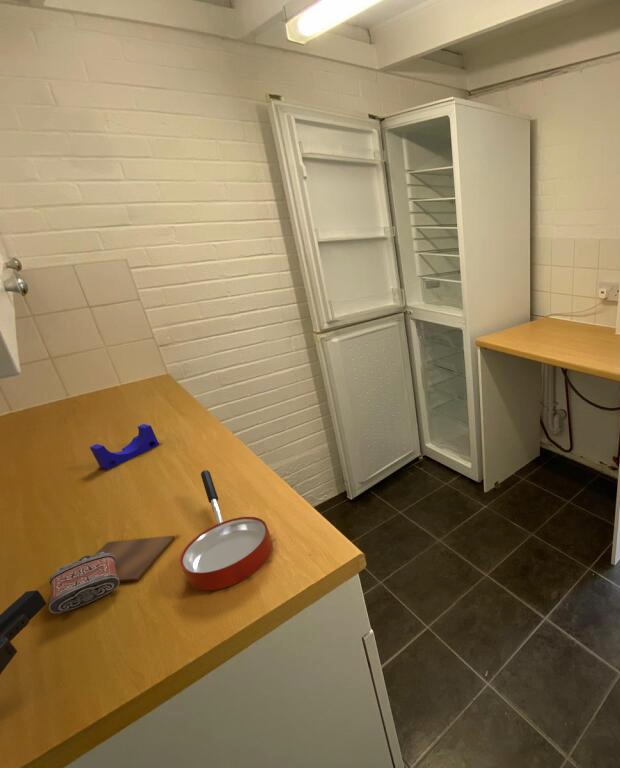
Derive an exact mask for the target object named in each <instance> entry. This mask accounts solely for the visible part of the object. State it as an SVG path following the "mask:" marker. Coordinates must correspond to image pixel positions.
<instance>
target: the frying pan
mask: <svg viewBox="0 0 620 768" xmlns="http://www.w3.org/2000/svg"><path fill="white" fill-rule="evenodd" d="M200 477H201V480H202V484H203V488H204V490H205V493H206V497H207V502H208V503H209V504H210V505H211V508H212V511H213V515H214V519H215V521H216V524H215V525H213V526H211V527H209V528H207V529H206V530H204V531H202V532H201V533H199V534H198V535H197V536H195V537H194V538H193V539H192V540H191V541H190V542H189V543H188V544H187V545H186V546H185V548H184V549H183V551H182V552H181V554H180V557H179V565H180V567H181V569H182V570H183V573H184V575H185V577H186V579H187V582H188V583H189V584H190V585H191V586H192V587H194V589H197V590H200V591H216V590H221V589H225V588H228V587H231V586H234V585H236V584H238V583H241V582H242V581H244V580H246V579H247V578H250V577H251V576H253V574H254V573H257V571H259V569H260V568H261V567H263V565H265V564H266V562H267V561H268V560H269V558H270V556H271V554H272V551H273V547H274V544H273V539H272V537H271V534H270V531H269V528H268V526H267V523H266V521H264V519H261V518H259V517H256V516H241V517H240V516H239V517H235V518H231V519H228V520H224V516H223V512H222V511H221V507H220V504H219V496H218V493H217V491H216V487H215V484H214V481H213V478H212V475H211V472H210V470H207V469H206V470H203V471H201V472H200Z"/></svg>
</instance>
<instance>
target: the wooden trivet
mask: <svg viewBox="0 0 620 768" xmlns="http://www.w3.org/2000/svg"><path fill="white" fill-rule="evenodd" d="M175 538H176V537H175V535H168V536H167V535H166V536H159V537H158V536H157V537H148V538H137V539H128V540H127V539H126V540H119V541H116V540H115V541H108V542H106V543H105V544H104V545H103V546H102V547H101V548H100V549H99V550H98V551H97V552H96V553H95V554H97V553H100V552H104V553H105V554H107V553H111V554H113V555H114V556H115V558H116V562H115V567H116V573H117V576H118V577H119V584H121V583H129V582H138V581H139V580H140V579H141V578H142V577H143V576H144V575H145V574H146V573H147V571H148V570H149V569H150V567H152V566H153V564H154V563H155V562H156V561H157V559H159V558H160V557H161V555H162V554H163V553H164V552H165V550H166V549H167V548H168V547H169V546H170V545H171V544H172V542H173V541H174V540H175Z"/></svg>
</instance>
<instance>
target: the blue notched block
mask: <svg viewBox="0 0 620 768" xmlns="http://www.w3.org/2000/svg"><path fill="white" fill-rule="evenodd" d="M137 430H138V435H136V436H134V437H133V438H132V440H131V441H130V442H129V443H128V444H127V445H126V446H124V447H123V448H121V451H116V452H115V451H114V452H111V451H109V450H108V449H107V448H106V447H105V445H102V444H98V443H96V444H93V445H90V446H89V449H90V451H91V453H92V455H93V456H94V458H95V461H96V462H97V464H98V466H99V468H101V469H104V470H107V471H108V470H110V469H112V468H115V467H116V466H118V465H120V464H122V463H125V462H126V461H128V460H131V459H133V458H135V457H138V456H139V455H141V454H143V453H145V452H147V451H149V450H151V449H154V448H155V447H158V446H160V442H159V441H158V439H157V436H156V434H155V432H154V430H153V427H152V426H151V425H150V424H146V423H143V424H140V425H138V426H137Z"/></svg>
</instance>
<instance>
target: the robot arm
mask: <svg viewBox="0 0 620 768" xmlns="http://www.w3.org/2000/svg"><path fill="white" fill-rule="evenodd" d="M47 604H48V603H47V601H46V600H45V598H44V597H43V596H42V594H41V593H40V591H39V590H38V589H37V590H29V591H28V590H27V591H25V592H24V593H22V595H20V597H18V598H17V599H16V600H15V601H13V603H11V604H10V605H9V606H8V607H7V608H6V609H5V610H4V611H3V612H1V613H0V675H2V673H3V672H4V670H5V669H6V667H8V665H9V664H10V662H11V661H12V659H13V658H15V656H16V654H17V652H18V650H17V649H16V647H15V645H14V644H13V643H12V642H11V641H12V640H13V639H15V637H16V636H18V635H19V634H20V633H21V632H22V631H23V630H24V629H25V628H26V627H27V626H28V625H29V623H30V621H31V620H32V619H33V618H34V617H35V616H36V615H37V614H38V613H39V612H40V611H41V610H42V609H43V608H44V607H45V606H46V605H47Z"/></svg>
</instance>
